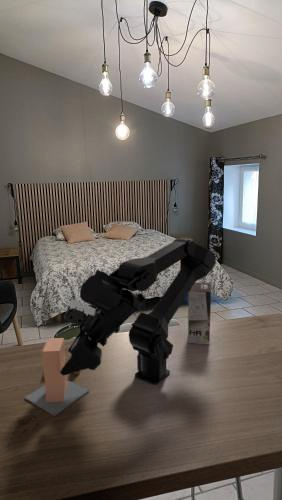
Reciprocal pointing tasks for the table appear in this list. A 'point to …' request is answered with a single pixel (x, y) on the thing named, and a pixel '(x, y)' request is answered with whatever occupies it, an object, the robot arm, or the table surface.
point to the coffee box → (199, 313)
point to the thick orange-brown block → (54, 369)
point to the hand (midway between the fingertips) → (65, 362)
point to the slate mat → (54, 408)
